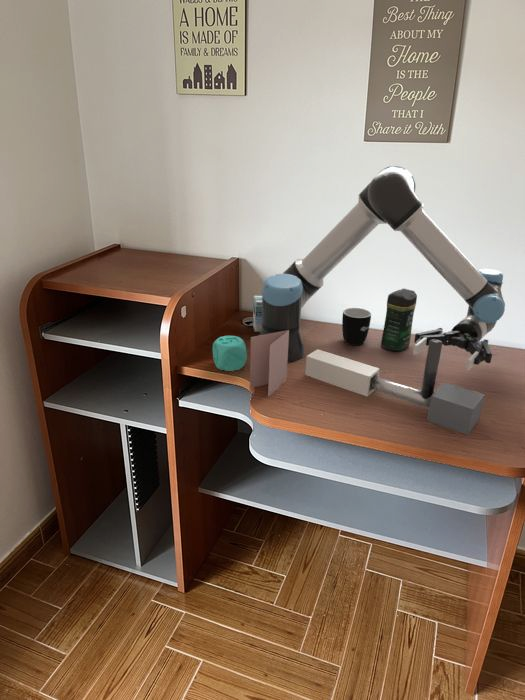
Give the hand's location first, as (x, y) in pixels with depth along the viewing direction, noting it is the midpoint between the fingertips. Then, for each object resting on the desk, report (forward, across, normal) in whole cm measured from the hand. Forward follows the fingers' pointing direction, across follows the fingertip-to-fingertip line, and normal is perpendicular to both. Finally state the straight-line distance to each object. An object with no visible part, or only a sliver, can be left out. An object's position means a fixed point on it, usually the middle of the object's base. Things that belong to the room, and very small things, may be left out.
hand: (440, 357), depth 135 cm
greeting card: (+20, +37, -13) cm, 44 cm away
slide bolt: (+5, +7, -12) cm, 15 cm away
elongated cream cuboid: (+5, +24, -13) cm, 28 cm away
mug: (-24, +35, -13) cm, 45 cm away
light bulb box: (-14, +63, -13) cm, 66 cm away
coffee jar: (-28, +23, -13) cm, 39 cm away
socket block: (+5, -7, -13) cm, 16 cm away
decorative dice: (+17, +55, -13) cm, 59 cm away
